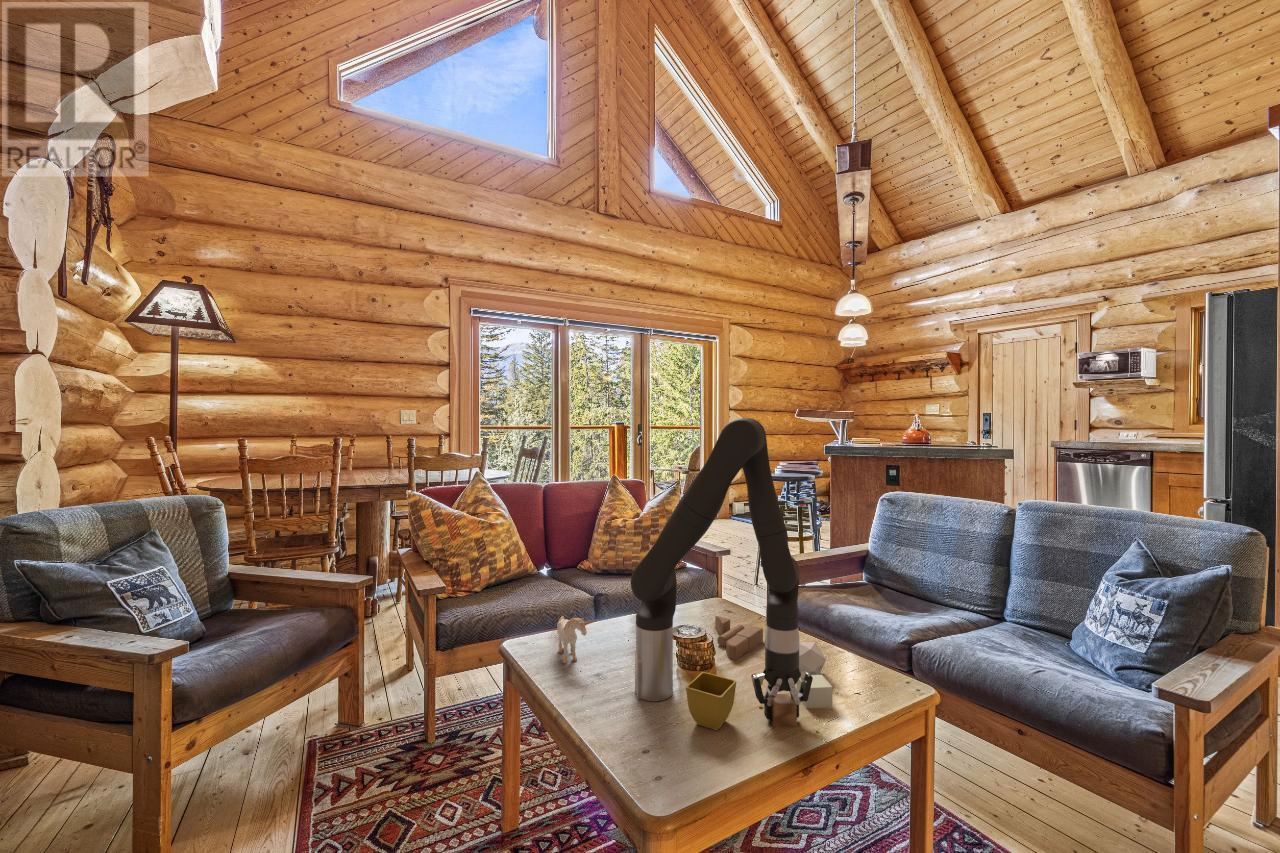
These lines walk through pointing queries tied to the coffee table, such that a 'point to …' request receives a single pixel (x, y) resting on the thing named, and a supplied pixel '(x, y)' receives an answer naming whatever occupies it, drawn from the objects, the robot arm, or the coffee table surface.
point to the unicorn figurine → (570, 634)
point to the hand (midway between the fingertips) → (781, 719)
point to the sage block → (818, 693)
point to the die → (810, 658)
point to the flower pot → (710, 699)
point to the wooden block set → (737, 637)
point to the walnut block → (784, 711)
